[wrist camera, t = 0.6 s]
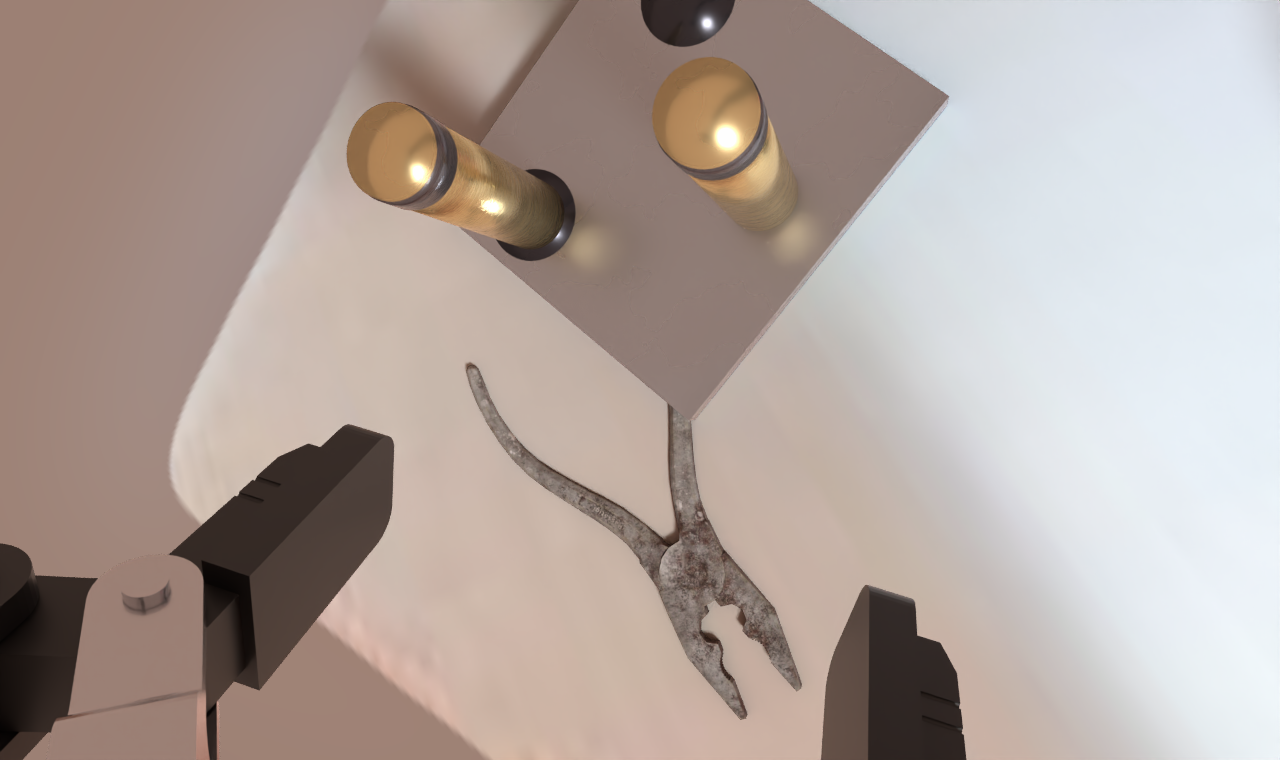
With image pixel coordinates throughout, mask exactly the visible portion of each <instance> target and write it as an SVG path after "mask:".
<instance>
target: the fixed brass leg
mask: <svg viewBox="0 0 1280 760" xmlns="http://www.w3.org/2000/svg"><path fill="white" fill-rule="evenodd" d="M347 163H348V168H349V171H350V174H351V176H352V178H353V180H354V182H355V183H356V184H357V186H358V187H359V188H360V189H361V190H362V191H363V192H365V193H366V194H368V195H369V196H370V197H372V198H374V199H376V200H378V201H381V202H383V203H386V204H389V205H392V206H395V207H398V208H401V209H405V210H412V211H415V212H418V213H421V214H424V215H427V216H429V217H432V218H435V219H438V220H441V221H444V222H447V223H450V224H453V225H456V226H459V227H462V228H465V229H468V230H471V231H474V232H476V233H479V234H482V235H485V236H488V237H491V238H494V239H497V240H500V241H503V242H506V243H509V244H512V245H515V246H518V247H520V248H523V249H531V250H532V249H539V248H542V247H544V246H546V245H548V244H549V243H551V242H552V241H553V240H554V239H555V238H556V237H557V235H558V234H559V232H560V230H561V228H562V225H563V222H564V215H565V212H564V205H563V201H562V199H561V197H560V195H559V193H558V192H557V191H556V190H555V189H554V188H553V187H552V186H551V185H549V184H547V183H546V182H544V181H542V180H540V179H538V178H537V177H535V176H533V175H531V174H530V173H528V172H526V171H524V170H522V169H521V168H519V167H517V166H515V165H513V164H512V163H510V162H508V161H506V160H505V159H503V158H501V157H499V156H497V155H496V154H494V153H492V152H490V151H488V150H487V149H485V148H483V147H481V146H480V145H478V144H476V143H474V142H472V141H471V140H469V139H467V138H465V137H463V136H462V135H460V134H458V133H456V132H455V131H453V130H451V129H449V128H447V127H446V126H444V125H443V124H442V123H441V122H439V121H438V120H436V119H435V118H433V117H431V116H429V115H427V114H426V113H424V112H422V111H420V110H419V109H417V108H415V107H413V106H410V105H407V104H402V103H398V102H387V103H382V104H379V105H376V106H374V107H372V108H371V109H369V110H368V111H367V112H365V113H364V114H363V115H362V116H361V117H360V118H359V120H358V121H357V122H356V124H355V126H354V127H353V129H352V132H351V134H350V137H349V140H348V145H347Z"/></svg>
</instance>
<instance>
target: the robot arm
mask: <svg viewBox="0 0 1280 760" xmlns="http://www.w3.org/2000/svg"><path fill="white" fill-rule="evenodd" d="M393 463H394V443H393V440H392V438H391V437H389V436H386V435H383V434H380V433H377V432H373V431H370V430H367V429H363V428H360V427H357V426H354V425H350V424H348V425H345V426H343V427H342V428H341V429H339V430H338V431H337V432H336V433H335V434H334V435H333V436H332V437H331V438H330V439H329V440H328V441H327V442H326V443H325V444H324V445H322V446H321V447H318V446H315V445H311V444H306V445H304V446H302V447H300V448H297V449H295V450H293V451H291V452H288V453H286V454H284V455H282V456H279V457H278V458H277V459H276V460H274V461H273V462H272V463H271V464H270V465H269V466H268V467H267V468H265V469H264V470H263V471H262V472H261V473H260V474H259V475H258V476H257V478H256V480H255V481H254V480H252V481H251V482H250V483H249V484H248V485H246V486H245V487H244V488H243V489H242V490H241V491H240V492H239V495H238V496H234V497H233V498H232V499H231V500H230V501H228V502H227V503H226V504H225V505H224V506H223V507H222V508H221V509H220V510H218V511H217V512H216V513H215V514H214V515H213V516H212V517H211V518H209V519H208V520H207V521H206V522H205V523H204V524H203V525H202V526H200V527H199V528H198V529H197V530H196V531H195V532H194V533H193V534H192V535H190V536H189V537H188V538H187V539H186V540H185V541H184V542H183V543H181V544H180V545H179V546H178V547H177V548H176V549H175V550H174V551H172V553H170V554H169V555H160V554H159V555H148V556H142V557H138V558H134V559H131V560H128V561H126V562H123V563H121V564H119V565H117V566H115V567H113V568H111V569H110V570H108V571H107V572H105V573H104V574H103V575H102V576H101V577H99V578H75V577H55V576H35V574H34V570H33V566H32V562H31V560H30V558H29V556H28V555H27V554H26V553H25V552H24V551H22V550H21V549H19V548H17V547H14V546H11V545H6V544H0V760H23V759H24V757H25V756H26V755H27V754H28V753H29V752H30V751H31V750H32V749H33V748H34V747H35V745H37V744H38V742H39V741H40V740H41V739H42V738H43V737H44V736H45V735H46V734H47V733H48V732H51V736H50V741H49V747H48V752H47V758H46V760H220V724H219V723H220V721H219V719H220V718H219V701H218V699H219V698H220V697H221V696H222V695H223V694H224V692H225V691H226V690H227V689H228V688H229V686H230V685H231V684H232V683H233V682H237V683H240V684H243V685H246V686H249V687H251V688H254V689H257V690H260V689H261V688H262V686H263V685H264V684H265V683H266V682H267V680H268V679H269V678H270V677H271V675H272V674H273V673H274V672H275V670H276V669H277V668H278V666H279V665H280V664H281V663H282V662H283V660H284V659H285V658H286V657H287V655H288V654H289V653H290V652H291V650H292V649H293V648H294V647H295V645H296V644H297V643H298V642H299V640H300V639H301V638H302V637H303V635H304V634H305V633H306V632H307V631H308V629H309V628H310V627H311V625H312V624H313V623H314V622H315V621H316V619H317V618H318V617H319V616H320V614H321V613H322V612H323V611H324V609H325V608H326V607H327V606H328V604H329V603H330V602H331V601H332V599H333V598H334V597H335V596H336V594H337V593H338V592H339V591H340V589H341V588H342V587H343V586H344V585H345V583H346V582H347V581H348V580H349V578H350V577H351V576H352V575H353V573H354V572H355V571H356V570H357V568H358V567H359V566H360V565H361V563H362V562H363V561H364V560H365V558H366V557H367V556H368V555H369V553H370V552H371V551H372V550H373V548H374V547H375V546H376V545H377V543H378V542H379V541H380V539H381V537H382V536H383V534H384V532H385V530H386V527H387V525H388V522H389V519H390V515H391V510H392V494H393ZM959 705H960V697H959V688H958V679H957V673H956V671H955V669H954V667H953V665H952V663H951V662H950V660H949V658H948V656H947V654H946V652H945V650H944V649H943V647H942V645H941V643H939V642H936V641H933V640H930V639H927V638H923V637H920V636H917V624H916V608H915V602H914V600H913V599H911V598H908V597H905V596H901V595H898V594H895V593H892V592H888V591H885V590H882V589H879V588H875V587H872V586H869V585H865V586H864V587H863V589H862V590H861V592H860V594H859V597H858V599H857V601H856V603H855V606H854V608H853V610H852V612H851V615H850V617H849V619H848V622H847V624H846V626H845V628H844V631H843V633H842V635H841V637H840V640H839V642H838V644H837V646H836V649H835V651H834V654H833V657H832V660H831V664H830V668H829V672H828V677H827V683H826V693H825V708H824V724H823V739H822V755H821V760H966V752H965V743H964V735H963V734H962V729H963V725H962V716H961V709H959Z"/></svg>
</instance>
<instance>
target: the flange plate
mask: <svg viewBox="0 0 1280 760" xmlns="http://www.w3.org/2000/svg"><path fill="white" fill-rule="evenodd" d="M704 57H717V58H722V59H726V60H728V61H731V62H733V63H735V64H736V65H738V66H739V67H741V68H742V69H743V70H744V71H746V72H747V73H748V74H749V75H750V77H751V78H752V79H753V81H754V82H755V84H756V86H757V88H758V90H759V92H760V94H761V97H762V99H763V101H764V103H765V106H766V110H767V115H768V117H769V119H770V121H771V124H772V126H773V128H774V130H775V133H776V135H777V137H778V139H779V142H780V144H781V146H782V148H783V151H784V153H785V155H786V157H787V160H788V162H789V164H790V166H791V169H792V171H793V173H794V175H795V178H796V181H797V185H798V198H797V202H796V205H795V208H794V210H793V212H792V213H791V214H790V216H789V217H788V218H787V219H786V220H785V221H784V222H783V223H781V224H780V225H778V226H777V227H775V228H772V229H769V230H765V231H753V230H748V229H745V228H743V227H741V226H740V225H738V224H737V223H736V222H734V221H733V220H732V219H731V218H730V217H729V216H728V215H727V214H726V213H725V212H724V211H723V210H722V209H721V208H720V207H719V206H718V205H717V203H716V202H715V201H714V200H713V199H712V198H711V197H710V196H709V195H708V194H707V193H706V192H705V191H704V190H703V189H702V188H701V187H700V186H699V185H698V184H697V183H696V182H695V181H694V180H693V179H692V178H691V177H690V176H689V175H688V174H686V173H685V172H683V171H682V170H681V169H680V168H679V167H678V166H677V165H676V164H675V163H674V162H673V161H672V160H671V159H670V158H669V157H668V156H667V155H666V154H665V153H664V152H663V150H662V149H661V147H660V146H659V143H658V141H657V139H656V136H655V133H654V129H653V124H652V110H653V104H654V100H655V97H656V94H657V92H658V90H659V88H660V86H661V85H662V83H663V82H664V81H665V79H666V78H667V77H668V76H669V75H670V74H671V73H672V72H673V71H674V70H675V69H677V68H678V67H679V66H681V65H683V64H685V63H687V62H689V61H691V60H694V59H698V58H704ZM948 99H949V96H948V95H946V94H945V93H943V92H942V91H941V90H939V89H938V88H936V87H935V86H933V85H932V84H930V83H929V82H927V81H926V80H924V79H923V78H921V77H920V76H918V75H917V74H915V73H914V72H913V71H911V70H910V69H908V68H907V67H905V66H904V65H902V64H901V63H899V62H898V61H896V60H895V59H893V58H892V57H890V56H889V55H887V54H886V53H884V52H883V51H882V50H880V49H879V48H877V47H876V46H874V45H873V44H871V43H870V42H868V41H867V40H865V39H864V38H862V37H861V36H859V35H858V34H856V33H855V32H854V31H852V30H851V29H849V28H848V27H846V26H845V25H843V24H842V23H840V22H839V21H837V20H836V19H834V18H833V17H831V16H830V15H828V14H827V13H825V12H824V11H823V10H821V9H820V8H818V7H817V6H815V5H814V4H812V3H811V2H809V1H808V0H579V1H578V2H577V4H576V5H575V7H574V8H573V10H572V11H571V13H570V14H569V15H568V17H567V18H566V20H565V21H564V23H563V24H562V26H561V27H560V29H559V30H558V31H557V33H556V34H555V36H554V37H553V39H552V40H551V42H550V43H549V45H548V46H547V47H546V49H545V50H544V52H543V53H542V55H541V56H540V58H539V59H538V61H537V62H536V64H535V65H534V66H533V68H532V69H531V71H530V72H529V74H528V75H527V77H526V78H525V80H524V81H523V82H522V84H521V85H520V87H519V88H518V90H517V91H516V93H515V94H514V96H513V97H512V99H511V100H510V101H509V103H508V104H507V106H506V107H505V109H504V110H503V112H502V113H501V115H500V116H499V117H498V119H497V120H496V122H495V123H494V125H493V126H492V128H491V129H490V131H489V132H488V133H487V135H486V136H485V138H484V139H483V141H482V142H481V144H480V146H481V147H483V148H485V149H487V150H488V151H490V152H492V153H494V154H496V155H497V156H499V157H501V158H503V159H505V160H506V161H508V162H510V163H512V164H513V165H515V166H517V167H519V168H521V169H522V170H524V171H526V172H528V173H530V174H531V175H533V176H535V177H537V178H538V179H540V180H542V181H544V182H546V183H547V184H549V185H551V186H552V187H553V188H554V189H555V190H556V191H557V192H558V193H559V195H560V197H561V199H562V201H563V205H564V212H565V215H564V222H563V225H562V228H561V230H560V232H559V234H558V235H557V237H556V238H555V239H554V240H553V241H552V242H551V243H549V244H548V245H546V246H544V247H542V248H539V249H532V250H531V249H523V248H520V247H518V246H515V245H512V244H509V243H506V242H503V241H500V240H497V239H494V238H491V237H488V236H485V235H482V234H479V233H476V232H474V231H471V230H468V229H465V228H462V227H460V228H461V229H462V230H463V231H465V232H466V233H467V234H468V235H469V236H470V237H472V238H473V239H474V240H475V241H476V242H478V243H479V244H480V245H481V246H482V247H483V248H485V249H486V250H487V251H488V252H489V253H491V254H492V255H493V256H494V257H495V258H497V259H498V260H499V261H500V262H501V263H502V264H504V265H505V266H506V267H507V268H508V269H510V270H511V271H512V272H513V273H514V274H515V275H517V276H518V277H519V278H520V279H521V280H523V281H524V282H525V283H526V284H527V285H528V286H530V287H531V288H532V289H533V290H534V291H536V292H537V293H538V294H539V295H540V296H542V297H543V298H544V299H545V300H546V301H547V302H549V303H550V304H551V305H552V306H553V307H555V308H556V309H557V310H558V311H559V312H560V313H562V314H563V315H564V316H565V317H566V318H568V319H569V320H570V321H571V322H572V323H573V324H575V325H576V326H577V327H578V328H579V329H581V330H582V331H583V332H584V333H585V334H587V335H588V336H589V337H590V338H591V339H592V340H594V341H595V342H596V343H597V344H598V345H600V346H601V347H602V348H603V349H604V350H605V351H607V352H608V353H609V354H610V355H611V356H613V357H614V358H615V359H616V360H617V361H618V362H620V363H621V364H622V365H623V366H624V367H626V368H627V369H628V370H629V371H630V372H632V373H633V374H634V375H635V376H636V377H637V378H639V379H640V380H641V381H642V382H643V383H645V384H646V385H647V386H648V387H649V388H650V389H652V390H653V391H654V392H655V393H656V394H658V395H659V396H660V397H661V398H662V399H663V400H665V401H666V402H667V403H668V404H669V405H671V406H672V407H673V408H674V409H675V410H677V411H678V412H679V413H680V414H681V415H682V416H684V417H685V418H686V419H687V420H688V421H691V420H695V419H696V418H697V417H698V415H699V414H700V413H701V412H702V410H703V409H704V408H705V407H706V405H707V404H708V403H709V402H710V400H711V399H712V398H713V397H714V395H715V394H716V393H717V392H718V390H719V389H720V388H721V387H722V385H723V384H724V383H725V382H726V380H727V379H728V378H729V377H730V375H731V374H732V373H733V372H734V370H735V369H736V368H737V367H738V365H739V364H740V363H741V362H742V361H743V359H744V358H745V357H746V356H747V354H748V353H749V352H750V351H751V349H752V348H753V347H754V346H755V344H756V343H757V342H758V341H759V339H760V338H761V337H762V336H763V334H764V333H765V332H766V331H767V329H768V328H769V327H770V326H771V324H772V323H773V322H774V321H775V319H776V318H777V317H778V316H779V314H780V313H781V312H782V311H783V309H784V308H785V307H786V306H787V304H788V303H789V302H790V301H791V299H792V298H793V297H794V296H795V294H796V293H797V292H798V291H799V290H800V288H801V287H802V286H803V285H804V283H805V282H806V281H807V280H808V278H809V277H810V276H811V275H812V273H813V272H814V271H815V270H816V268H817V267H818V266H819V265H820V263H821V262H822V261H823V260H824V258H825V257H826V256H827V255H828V253H829V252H830V251H831V250H832V248H833V247H834V246H835V245H836V243H837V242H838V241H839V240H840V238H841V237H842V236H843V235H844V233H845V232H846V231H847V230H848V228H849V227H850V226H851V225H852V223H853V222H854V221H855V220H856V219H857V217H858V216H859V215H860V214H861V212H862V211H863V210H864V209H865V207H866V206H867V205H868V204H869V202H870V201H871V200H872V199H873V197H874V196H875V195H876V194H877V192H878V191H879V190H880V189H881V187H882V186H883V185H884V184H885V182H886V181H887V180H888V179H889V177H890V176H891V175H892V174H893V172H894V171H895V170H896V169H897V167H898V166H899V165H900V164H901V162H902V161H903V160H904V159H905V157H906V156H907V155H908V154H909V152H910V151H911V150H912V149H913V147H914V146H915V145H916V144H917V143H918V141H919V140H920V139H921V138H922V136H923V135H924V134H925V133H926V131H927V130H928V129H929V128H930V126H931V125H932V124H933V123H934V121H935V120H936V119H937V118H938V116H939V115H940V114H941V113H942V111H943V110H944V109H945V108H946V106H947V103H948Z"/></svg>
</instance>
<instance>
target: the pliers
mask: <svg viewBox="0 0 1280 760" xmlns="http://www.w3.org/2000/svg"><path fill="white" fill-rule="evenodd" d="M467 376H468V379H469V383H470V387H471V389H472V392H473V394H474V397H475V400H476V402H477V404H478V406H479V408H480V410H481V412H482V414H483V416H484V418H485V420H486V422H487V424H488V425H489V427H490V429H491V430H492V432H493V433H494V435H495V436H496V438H497V439H498V441H499V442H500V444H501V445H502V446H503V448H504V449H505V450H506V452H507V453H508V454H509V455H510V457H511V458H512V459H513V460H514V461H515V462H516V463H517V464H518V465H519V466H520V467H521V468H522V469H523V470H524V471H525V472H526V473H527V474H528V475H529V476H530V477H531V478H533V479H534V480H535V481H537V482H538V483H539V484H541V485H542V486H543V487H545V488H546V489H547V490H549V491H551V492H552V493H554V494H555V495H557V496H558V497H560V498H561V499H563V500H565V501H566V502H568V503H569V504H571V505H572V506H574V507H576V508H577V509H579V510H580V511H582V512H584V513H585V514H587V515H588V516H590V517H591V518H593V519H595V520H596V521H598V522H599V523H600V524H602V525H603V526H605V527H606V528H608V529H609V530H610V531H612V532H613V533H614V534H615V535H617V536H618V537H619V538H620V539H622V540H623V541H624V542H625V543H626V544H627V545H628V546H629V547H630V548H631V549H632V551H633V552H634V553H635V554H636V556H637V557H638V558H639V559H640V564H641V565H642V567H643V568H644V569H645V571H646V572H647V574H648V575H649V576H650V578H651V579H652V580H653V582H654V583H655V585H656V586H657V587H658V589H659V590H660V591H659V592H660V595H661V597H662V600H663V602H664V605H665V607H666V610H667V612H668V615H669V617H670V619H671V621H672V623H673V626H674V628H675V630H676V632H677V635H678V637H679V639H680V641H681V644H682V646H683V648H684V650H685V652H686V655H687V657H688V659H689V660H690V661H691V662H692V663H693V664H694V666H695V667H696V668H697V669H698V670H699V672H700V673H701V674H702V675H703V676H704V677H705V679H706V680H707V681H708V682H709V683H710V684H711V686H712V687H713V688H714V689H715V690H716V692H717V693H718V694H719V695H720V696H721V697H722V699H723V700H724V701H725V702H726V703H727V704H728V706H729V707H730V708H731V709H732V710H733V712H734V713H735V714H736V715H737V716H738V717H739V719H740V720H742V719H746V717H747V712H746V709H745V706H744V704H743V701H742V698H741V695H740V693H739V690H738V687H737V685H736V682H735V680H734V679H733V678H732V677H730V675H728V672H726V670H724V667H723V664H722V663H723V662H722V657H723V656H722V655H723V647H722V645H721V642H720V641H719V640H712V639H708V638H707V636H706V635H705V634H704V633H703V632H702V631H701V620H702V619H703V618H704V617H705V616H706V615H707V614H708V612H709V610H708V607H707V604H709V603H711V602H712V601H714V600H715V599H716V602H717V603H718V604H719V605H720V606H725V605H729V604H733V605H735V606H737V607H739V608H741V609H743V612H744V615H745V617H746V623H745V625H744V628H743V630H742V631H743V632H744V633H745V634H746V635H747V636H748V637H749V638H752V640H754V639H755V641H756V640H758V642H760V643H761V644H763V646H765V648H767V651H769V652H768V653H769V654H770V655H769V656H770V660H771V663H772V664H773V665H774V667H775V668H776V669H777V670H778V671H779V672H780V673H781V674H782V676H783V677H784V678H785V679H786V680H787V681H788V682H789V683H790V684H791V686H792V687H793V688H794V689H795V690H796V691H798V690H799V689H801V686H802V683H801V680H800V677H799V675H798V672H797V669H796V666H795V663H794V661H793V658H792V655H791V652H790V650H789V647H788V644H787V641H786V638H785V636H784V633H783V630H782V627H781V624H780V622H779V619H778V616H777V613H776V611H775V608H774V607H773V606H772V605H771V604H770V602H769V601H768V600H767V599H766V598H765V597H764V595H763V594H762V593H761V592H760V591H759V590H758V588H757V587H756V586H755V585H754V584H753V583H752V581H751V580H750V579H749V578H748V577H747V576H746V574H745V573H744V572H743V571H742V570H741V569H740V567H739V566H738V565H737V564H736V563H735V562H734V561H733V559H732V558H731V557H730V556H729V555H728V554H727V552H724V550H723V548H722V546H721V544H720V542H719V540H718V537H717V535H716V533H715V531H714V529H713V527H712V525H711V523H710V521H709V520H708V518H707V516H706V513H705V510H704V508H703V505H702V502H701V500H700V496H699V491H698V486H697V481H696V474H695V465H694V456H693V442H692V429H691V421H688V420H687V419H686V418H685V417H684V416H682V415H681V414H680V413H679V412H678V411H677V410H675V409H674V408H673V407H672V406H671V405H669V410H670V480H671V489H672V495H673V502H674V508H675V513H676V519H677V524H678V529H679V541H678V542H676V543H675V544H673V545H669V544H667V543H665V542H664V540H663V539H662V538H661V537H660V536H658V535H657V534H656V533H655V532H654V531H652V530H651V529H650V528H649V527H648V526H646V525H645V524H644V523H643V522H641V521H640V520H638V519H637V518H636V517H634V516H633V515H632V514H630V513H629V512H628V511H626V510H624V509H623V508H621V507H619V506H617V505H616V504H614V503H612V502H611V501H609V500H607V499H605V498H603V497H601V496H599V495H597V494H595V493H593V492H591V491H589V490H587V489H585V488H584V487H582V486H580V485H578V484H576V483H574V482H573V481H571V480H569V479H567V478H566V477H564V476H562V475H560V474H559V473H557V472H555V471H554V470H552V469H551V468H549V467H547V466H546V465H544V464H543V463H541V462H540V461H539V460H538V459H536V458H535V457H534V456H533V455H532V454H531V453H530V452H529V451H527V450H526V449H525V448H524V447H523V445H522V444H521V443H520V442H519V441H518V440H517V438H516V437H515V436H514V435H513V434H512V433H511V431H510V430H509V428H508V427H507V425H506V424H505V423H504V421H503V420H502V418H501V417H500V415H499V413H498V412H497V410H496V408H495V406H494V404H493V402H492V400H491V398H490V396H489V393H488V391H487V388H486V386H485V383H484V381H483V378H482V376H481V374H480V371H479V369H478V368H477V367H475V366H469V367H468V369H467ZM667 549H668V550H667ZM666 550H667V551H666ZM665 552H666V553H665ZM723 552H724V553H723ZM722 589H723V590H722ZM720 592H721V593H720Z"/></svg>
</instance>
